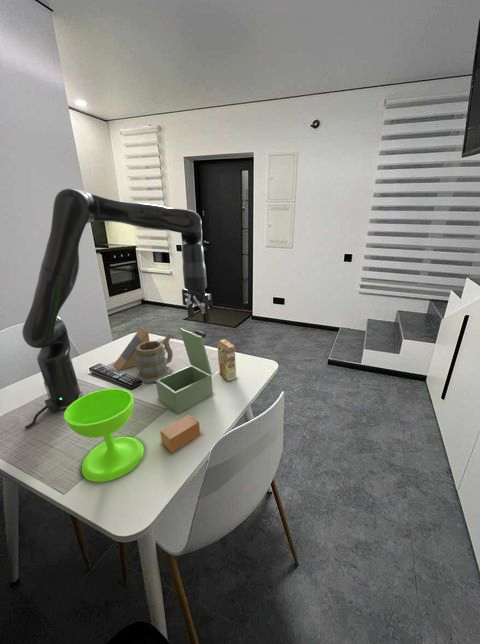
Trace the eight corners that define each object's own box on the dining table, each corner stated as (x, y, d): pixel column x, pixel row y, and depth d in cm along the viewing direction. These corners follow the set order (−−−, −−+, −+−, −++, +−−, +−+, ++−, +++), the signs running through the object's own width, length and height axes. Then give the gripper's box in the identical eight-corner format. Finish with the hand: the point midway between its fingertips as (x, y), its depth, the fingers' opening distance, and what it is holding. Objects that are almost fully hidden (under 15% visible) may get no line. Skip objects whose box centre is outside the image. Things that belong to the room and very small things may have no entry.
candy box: (236, 378, 121) (235, 345, 115) (227, 381, 119) (226, 348, 113) (227, 370, 128) (225, 338, 122) (218, 372, 125) (216, 340, 120)
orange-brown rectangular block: (172, 452, 83) (170, 439, 81) (162, 443, 86) (159, 430, 84) (200, 434, 89) (198, 421, 88) (190, 426, 93) (188, 414, 91)
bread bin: (177, 413, 99) (174, 393, 96) (158, 399, 107) (155, 380, 104) (212, 394, 110) (211, 375, 107) (193, 382, 118) (191, 365, 115)
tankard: (151, 385, 116) (146, 352, 110) (132, 377, 122) (125, 345, 116) (187, 365, 131) (184, 335, 126) (168, 359, 138) (164, 330, 132)
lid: (200, 337, 98) (211, 331, 101) (179, 328, 106) (190, 323, 109) (210, 375, 106) (220, 368, 110) (190, 364, 114) (200, 358, 117)
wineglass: (115, 432, 90) (103, 383, 84) (156, 446, 85) (146, 395, 78) (67, 471, 77) (48, 416, 70) (112, 490, 71) (96, 432, 65)
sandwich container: (113, 364, 133) (106, 334, 128) (146, 354, 143) (141, 326, 137) (119, 370, 127) (112, 339, 122) (152, 360, 137) (148, 331, 131)
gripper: (173, 273, 98) (178, 318, 104) (198, 278, 89) (202, 327, 95) (191, 270, 103) (195, 313, 109) (217, 275, 95) (219, 321, 101)
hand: (198, 319), depth 102 cm, fingers open, 8 cm apart
